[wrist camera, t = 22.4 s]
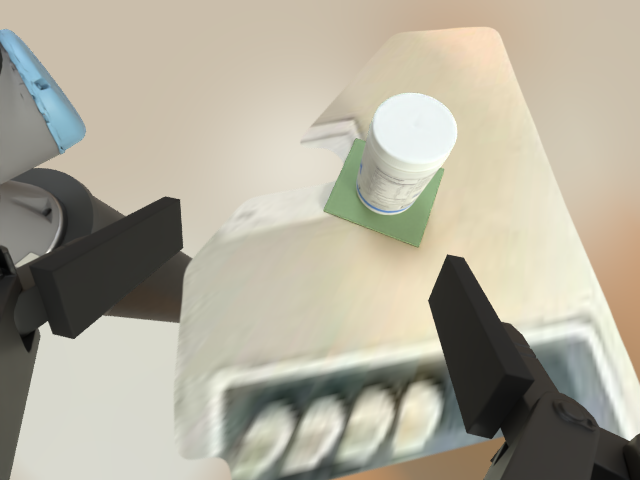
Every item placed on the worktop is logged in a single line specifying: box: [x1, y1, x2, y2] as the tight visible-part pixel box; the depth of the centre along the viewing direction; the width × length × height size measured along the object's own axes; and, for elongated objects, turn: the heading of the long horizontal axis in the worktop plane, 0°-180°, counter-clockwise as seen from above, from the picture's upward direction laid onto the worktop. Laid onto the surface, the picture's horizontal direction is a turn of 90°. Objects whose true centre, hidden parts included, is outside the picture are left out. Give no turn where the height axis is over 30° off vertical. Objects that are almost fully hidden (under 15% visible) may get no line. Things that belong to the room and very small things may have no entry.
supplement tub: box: [356, 93, 457, 215], centre depth 39 cm, size 10×10×15 cm
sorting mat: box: [324, 138, 444, 247], centre depth 46 cm, size 15×14×1 cm
